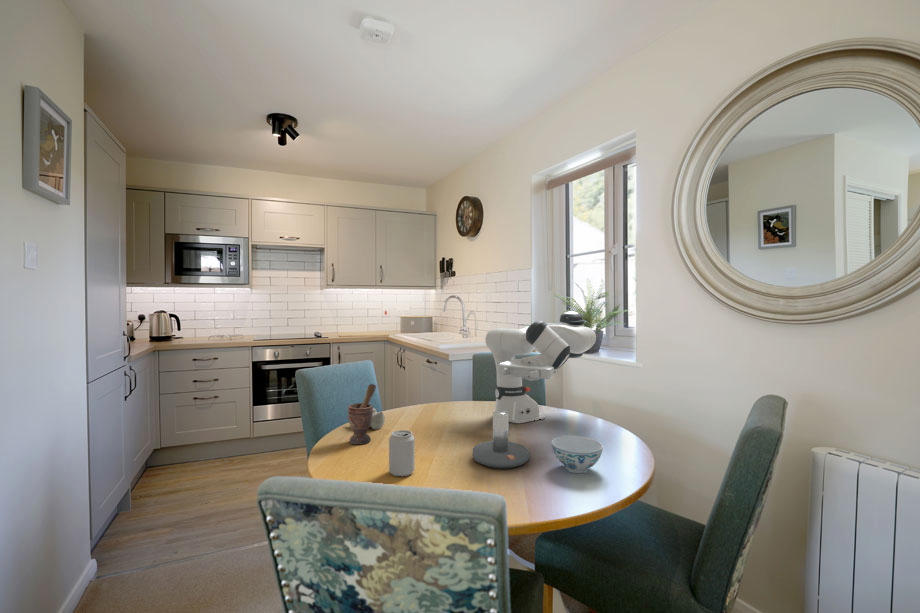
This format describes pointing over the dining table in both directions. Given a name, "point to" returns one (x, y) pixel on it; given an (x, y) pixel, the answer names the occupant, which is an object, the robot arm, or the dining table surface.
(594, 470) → the dining table surface
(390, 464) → the can
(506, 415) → the clear drinking glass
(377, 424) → the ceramic sculpture
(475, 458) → the disc
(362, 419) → the mortar and pestle
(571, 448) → the chinaware
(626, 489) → the dining table surface
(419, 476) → the dining table surface
